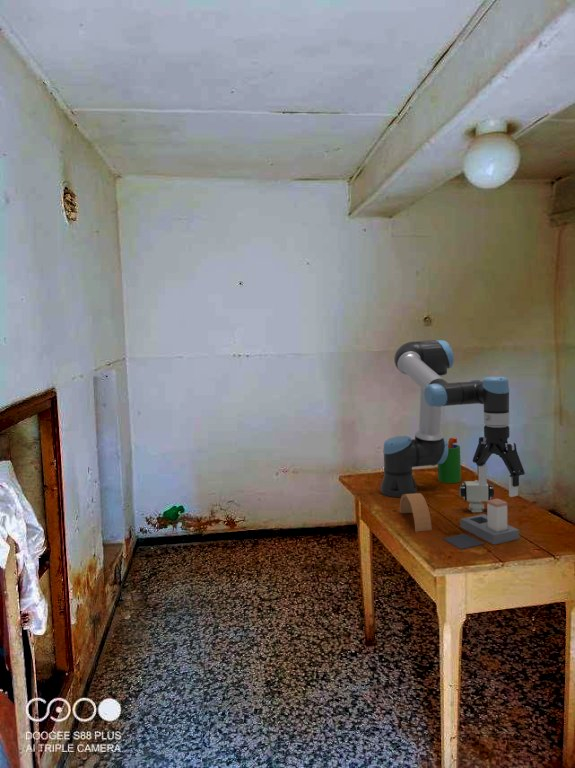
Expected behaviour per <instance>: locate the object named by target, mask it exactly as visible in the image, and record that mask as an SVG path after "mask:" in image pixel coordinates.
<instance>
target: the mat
mask: <svg viewBox="0 0 575 768" xmlns="http://www.w3.org/2000/svg"><path fill="white" fill-rule="evenodd" d="M442 540H444V541H445V542H446V543H448V544H450V545H451V546H453V547H455V548H457V549H458V550H467V549H470V548H474V547H479V546H484V545H485V543H484V542H482V541H480V540H479V539H477V538H475V537H474V536H471V535H469V534H468V533H466V532H464V533H461V534H455V535H451V536H447V537H446V536H445V537H442Z"/></svg>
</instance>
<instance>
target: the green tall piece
mask: <svg viewBox="0 0 575 768" xmlns="http://www.w3.org/2000/svg"><path fill="white" fill-rule="evenodd" d="M447 443H448V445H447V446H448V456H447V459H446V460H445V462H443V463H442V464H438V465H437V480H438V482H440V483H443V484H444V483H445V484H456V483H460V482H462V468H461V463H462V462H461V445H459V444H457V443H458V439H457V438H456V437H454V436H453V437H450V438H448V441H447Z"/></svg>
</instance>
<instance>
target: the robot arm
mask: <svg viewBox="0 0 575 768" xmlns="http://www.w3.org/2000/svg"><path fill="white" fill-rule="evenodd" d="M454 360H455V359H454V352H453V349H452V347H451V345H450V344H449V342H447V341H446V340H443V339H442V340H441V339H440V340H437V339H432V340H418V341H407V342H406V343H404V344H402V345H401V346H400V347H398V349H397V350H396V352H395V354H394V360H393V362H394V366H395V367H396V368H397V370H398V371H399V372H400V373H401V374H404V375H406V376H408V378H410V379H411V380H412V381H414V383H415V384H417V386H419V388H420V396H419V398H420V399H419V404H420V405H419V420H418V421H419V423H418V424H419V425H418V431H416V432H415V434H414V438H413V439H412V438H411V436H407V435H404V436H401V435H399V436H393V437H391V438H388V439H386V440H385V441H384V443H383V450H382V452H383V469H384V471H383V472H384V473H383V478H382V481H381V485H380V493H381V494H383V495H384V496H387V497H393V498H401V497H402V495H403V494H415V493H418V487H417V484H416V481H415V478H414V476H413V468H414V467H415V468H416V467H429V466H433V467H434V466H438V464H442V463H443V462H445V460H446V459H447V456H448V441H447V439H446V438H445V437H444V435H443V433H442V432H441V421H442V419H441V417H442V416H441V415H442V407H448V406H459V405H460V406H461V405H462V406H463V405H473V404H474V405H475V404H476V405H477V404H479V405H480V404H481V405H483V424H484V426H483V436H481V437H478V444H477V447H476V449H475V452H474V455H473V458H472V462H473V463H474V464H476V466H477V475H478V481H479V486H482V485H487V482H488V474H487V470H488V469H487V465H486V464H487V461H488V460H489V459H490V457H491V456H492V455H496V456H498V457H499V458H501V460H502V461H503V463H504V465H505V467H506V468H507V470H508V472H509V474H510V475H508V497H510V498H513V497H517V496H519V486H520V476H525V474H526V472H525V470H524V468H523V465H522V462H521V458H520V455H519V453H518V451H517V444H516V443H515V442H514V443H513V442H511V443H509V442H508V439H509V438H510V426H509V425H510V386H509V379H508V378H507V377H506V376H485V377H484V378H483V381H482V380H479V379H476V380H475V379H474V380H473V379H472V380H468V381H461V382H448V381H446V380H445V379H444V377H445V376H447V374H448V369H450V368H453V365H454V362H455V361H454Z"/></svg>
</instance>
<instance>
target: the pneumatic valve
mask: <svg viewBox="0 0 575 768" xmlns="http://www.w3.org/2000/svg"><path fill="white" fill-rule="evenodd" d="M461 484H462V485H461ZM461 484H460V485H459V486H458V492H459V494H458V495H459V498H463V500H464V502H469V504H468V510H469V511H471V513H473V514H475V513H477V514H478V513H481V514H482V513H484V512H483V511H485V504H484V503H482V502H487V500H492V498H494V497H495V490H494V489H495V488H494V485H491V484H490V482H489V481H487V485H482V486H479V479H478V480H477V479H474V480H473V481H470V480H469V481H467V480H466V481H465V480H464V481H462V483H461Z"/></svg>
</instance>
